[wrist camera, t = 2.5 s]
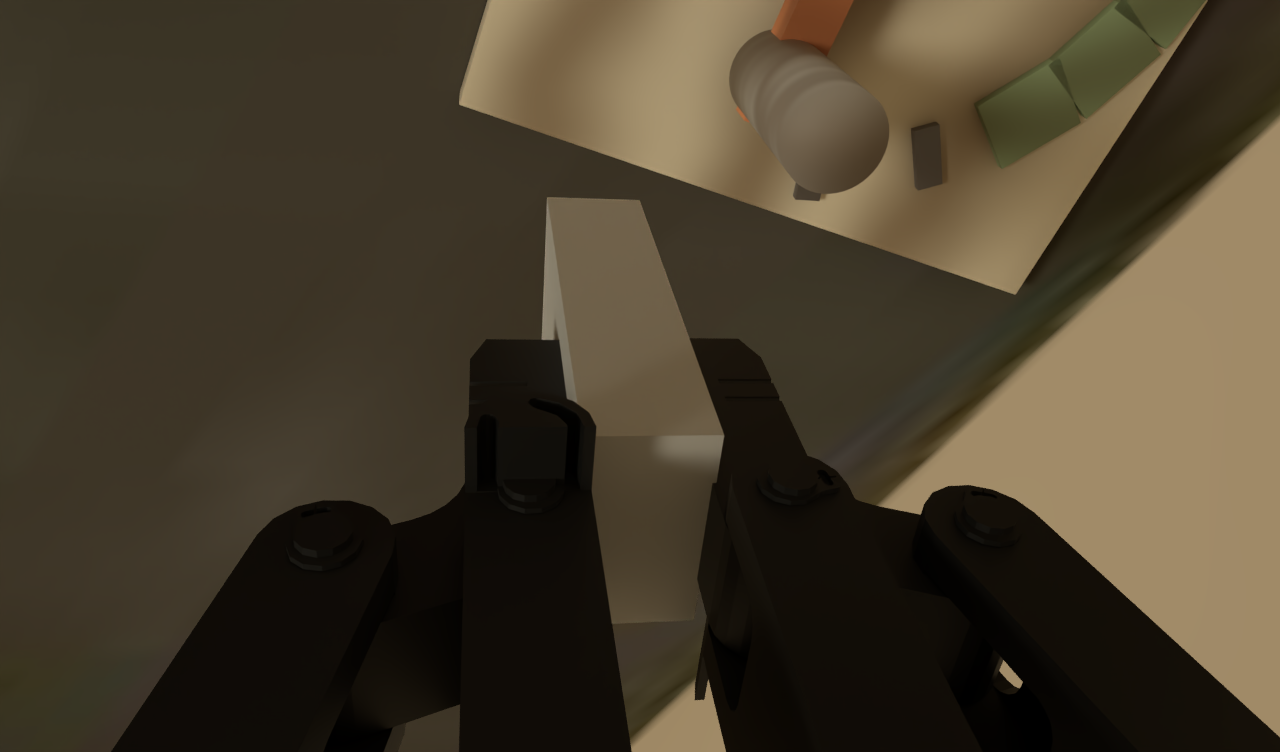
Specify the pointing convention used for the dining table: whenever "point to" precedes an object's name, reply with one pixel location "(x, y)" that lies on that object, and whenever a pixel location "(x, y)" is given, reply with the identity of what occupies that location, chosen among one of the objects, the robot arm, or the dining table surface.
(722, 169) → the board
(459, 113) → the dining table surface
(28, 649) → the dining table surface
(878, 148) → the dial
